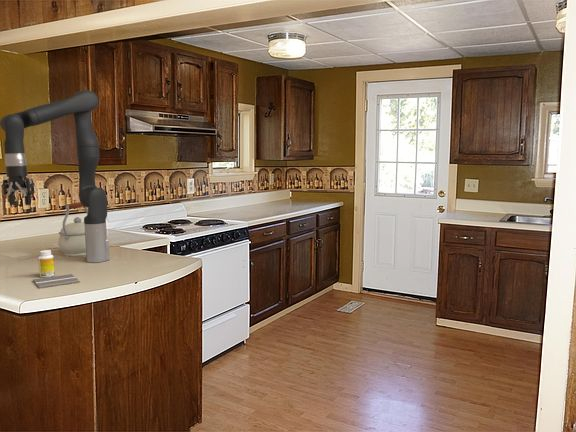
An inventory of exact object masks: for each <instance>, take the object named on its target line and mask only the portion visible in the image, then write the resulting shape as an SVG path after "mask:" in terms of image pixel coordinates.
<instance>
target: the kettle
mask: <svg viewBox="0 0 576 432" xmlns="http://www.w3.org/2000/svg"><path fill="white" fill-rule="evenodd" d="M79 208H83V209H84V211H85V213H86V216H87V215H88V207H85V206H83V205H82V204H81V202H80V201H78V202H73V203H71V204H70V203H67V204H65V210H66V211H65V214H64V218H63V220H62V227H61V229H60V231H59V232H58V235H59V237H58V247H59V249H60V250H61V252H63V255H65V256H66V257H83V256H86V245H85V229H84V221H83V219H82V218H81V217H78V216H76V217H75V218H73V222H70V223H67V219H68V217H69V214H70V210H71V209H72V210H73V209H79ZM66 223H67V224H66Z"/></svg>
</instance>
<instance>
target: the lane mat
mask: <svg viewBox="0 0 576 432" xmlns="http://www.w3.org/2000/svg"><path fill="white" fill-rule="evenodd" d="M32 282H33V283H34V284H35V285H36V286H37V288H38V289H45V288H52V287H57V286H59V285H60V286H65V284H66V285H72V283H73V284H80V283H81V281H80V280H79V279H78V278H77V277H75V275H73V273H70V274H62V275H54V276H52V277H45V278H43V277H40V278H33V279H32ZM79 282H80V283H79Z"/></svg>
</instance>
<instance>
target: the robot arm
mask: <svg viewBox="0 0 576 432" xmlns="http://www.w3.org/2000/svg"><path fill="white" fill-rule="evenodd" d="M98 106H99V97H98V96H97V94H96V93H95V92H94V91H92V90H89V89H82V90H79V91H76V92H75V93H73V95H72V96H70V97H68V98H65V99H62V100H59V101H55V102H54V101H53V102H49V103H46V104H41V105H38V106H34V107H31V108H28V109H25V110H23V111H19V112H14V113H10V114H6V115H4V116H3V117H2V118H1V119H0V129H2V130H3V131H4V133H5V135H4V136H5V139H4V142H3V145H4V148H3V150H4V164H5V172H6V173H5V174H6V177H7V178H8V179H3V180H2V188H3V189H2V190H3V195H7V196H8V202H9V203H8V204H9V205H10V206H15V205H16V196H15V194H16V192H17V191H20V192H22V193H23V196H24V205H25V206H30V205H32V197H31V196H32V195H34V194H35V193H36V192H35V185H34V179H33V178H29V179H28V178H27V177H28V166H27V158H26V157H27V156H26V151H25V144H24V139H25V137H24V136H25V129H27V128H30V127H35V126H39V125H42V124H45V123H49V122H51V121H54V120H56V119H59V118H62V117H65V116H68V115H72V114H73V119H74V125H75V126H74V127H75V141H76V143H75V144H76V156H77V163H78V164H77V166H78V178H79V179H78V181H79V182H78V183H79V184H78V198H79V199H78V200H79V202H81V204H82V205H83V206H85V207H87V210H88V215H87V214H86V216H84V217H83V222H84V229H85V245H86V255H85V257H86V260H85V261H86V262H87V263H102V262H106V261H110V247H109V239H108V235H107V216H108V195H107V193H106V191H105V190H104V189H103V188H100V187H96V171H97V169H98V165H99V161H100V144H99V139H98V137H97V134H96V132H95V129H94V126H93V120H92V119H93V118H92V111H94V110H96V108H98Z"/></svg>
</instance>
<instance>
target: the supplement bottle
mask: <svg viewBox="0 0 576 432" xmlns="http://www.w3.org/2000/svg"><path fill="white" fill-rule="evenodd" d="M37 260H38V271H39V277H40V278H47V277H54V276H56V269H55V259H54V255H53V254H52V250H50V249H45V250H44V249H43V250H41V251H39V256H38V257H37Z"/></svg>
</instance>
